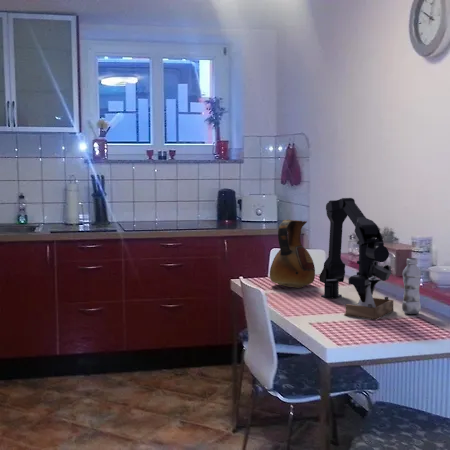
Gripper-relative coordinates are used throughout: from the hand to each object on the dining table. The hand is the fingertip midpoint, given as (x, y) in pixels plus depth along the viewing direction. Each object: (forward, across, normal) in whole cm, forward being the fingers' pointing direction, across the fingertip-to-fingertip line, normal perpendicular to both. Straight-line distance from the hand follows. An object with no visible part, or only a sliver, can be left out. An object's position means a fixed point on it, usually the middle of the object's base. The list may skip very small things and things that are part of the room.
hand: (366, 300), depth 229 cm
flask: (+3, 0, 0) cm, 3 cm away
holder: (+4, 0, -1) cm, 5 cm away
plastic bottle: (+5, +7, -14) cm, 16 cm away
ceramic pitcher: (+5, +28, +47) cm, 55 cm away
